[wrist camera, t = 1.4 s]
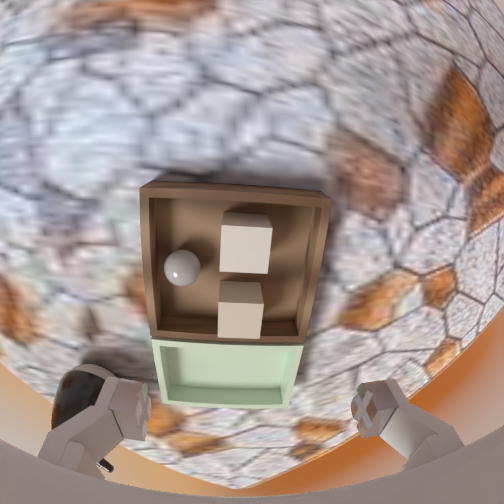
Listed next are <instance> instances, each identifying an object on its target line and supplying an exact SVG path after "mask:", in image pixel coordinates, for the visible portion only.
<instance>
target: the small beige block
mask: <svg viewBox="0 0 504 504" xmlns="http://www.w3.org/2000/svg"><path fill="white" fill-rule="evenodd" d="M272 229H273V228H272V226H271V223H270V221H269V218H268V216H267V215H263V214H247V213H230V212H223V218H222V227H221V248H220V272H240V273H262V274H267V273H268V265H269V256H270V247H271V238H272Z"/></svg>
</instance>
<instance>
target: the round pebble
mask: <svg viewBox="0 0 504 504" xmlns="http://www.w3.org/2000/svg"><path fill="white" fill-rule="evenodd" d="M200 270H201V266H200V262H199V260H198V258H197V256H196V255H195V254H194V253H192V252H190V251H188V250H176V251H174V252H172V253H171V254H170V255H169V256H168V257H167V259H166V261H165V264H164V272H165V275H166V277H167V279H168V280H169V281H170V282H171V283H172V284H174V285H176V286H181V287H184V286H189V285H191V284H192V283H194V282H195V281H196V280H197V278H198V277H199V274H200Z"/></svg>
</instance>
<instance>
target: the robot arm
mask: <svg viewBox="0 0 504 504" xmlns="http://www.w3.org/2000/svg"><path fill="white" fill-rule="evenodd" d="M357 391H358V394H357V395H356V396H355V397H354V398H353V400H352V403H351V412H352V415H353V418H354V419H355V420H357V421H358V425H357V428H358V431H359V433H360V435H361V438H366V437H372V436H378V435H380V437H382V439H384V440H385V441H386V442H387V443H388V444H390V445H391V446H392V447H393V448H394V449H396V450H397V451H398V452H399V453H400V454H402V455H403V456H404V457H405V458H407V459H408V461H407V462H406V463H405V464H404V465H403V466H402V468H401V469H400V470H401V472H399V473H396V474H392V475H389V476H386V477H382V478H379V479H375V480H371V481H367V482H363V483H358V484H354V485H349V486H344V487H340V488H334V489H328V490H323V491H316V492H308V493H300V494H291V495H279V496H264V497H263V496H261V497H216V496H215V497H214V496H198V495H187V494H177V493H169V492H162V491H155V490H149V489H143V488H138V487H133V486H128V485H124V484H119V483H115V482H111V481H106V480H104V479H105V477H104V475H103V474H102V473H101V471H100V470H99V469H98V467H97V466H96V464H97V463H98V462H100V461H101V460H102V459H103V458H104V457H105V456H106V455H107V454H108V453H109V452H110V451H111V450H113V449H114V448H115V447H116V446H117V445H118V444H119V443H120V442H121V441H122V440H123V438H126V439H132V440H139V441H145V437H146V433H147V425H146V422H147V421H148V420H149V419H150V415H151V399H150V396H149V395H147V392H148V386H147V383H145V382H139V381H133V380H128V379H122V378H116V377H111V376H109V377H108V378H107V379H106V380H105V383H104V385H103V387H102V389H101V392H100V394H99V396H98V399H97V401H96V404H95V406H89V407H88V408H86V409H85V410H83V411H82V412H80V413H79V414H77V415H75V416H74V417H72V418H71V419H69V420H67V421H66V422H64V423H63V424H61V425H60V426H58V427H56V428H55V429H53V430H51V431H50V432H48V434H47V437H46V439H45V441H44V443H43V446H42V448H41V450H40V453H39V455H38V457H36V456H34V455H32V454H29V453H27V452H25V451H23V450H21V449H19V448H17V447H14V446H13V445H11V444H9V443H7V442H5V441H3V440H1V439H0V504H504V426H502V427H500V428H499V429H497V430H495V431H493V432H491V433H490V434H488V435H486V436H484V437H482V438H481V439H478V440H477V441H475V442H473V443H471V444H469V445H467V446H464V444H463V443H462V441H461V439H460V437H459V436H458V434H457V433H456V431H455V429H454V428H453V427H452V426H451V425H449V424H447V423H445V422H444V421H442V420H440V419H438V418H436V417H435V416H433V415H431V414H429V413H428V412H426V411H424V410H422V409H421V408H419V407H417V406H415V405H414V404H411V405H410V403H409V402H408V400H407V398H406V397H405V395H404V393H403V392H402V390H401V388H400V387H399V385H398V383H397V382H396V380H394V379H388V380H382V381H374V382H367V383H361V384H360V385H359V386H358V389H357Z"/></svg>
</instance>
